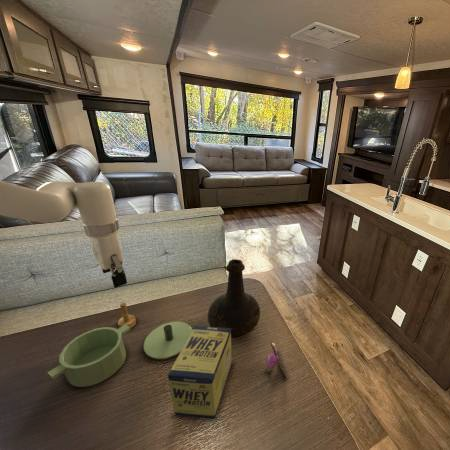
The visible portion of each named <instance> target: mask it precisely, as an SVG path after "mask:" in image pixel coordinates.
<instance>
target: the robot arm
mask: <svg viewBox="0 0 450 450" xmlns="http://www.w3.org/2000/svg"><path fill="white" fill-rule="evenodd" d="M74 209H78V212H79V216H80V219H81V223H82V226H83V229H84V232H85V236H86V237H88V238H89V239H90V243H91V249H92V254H93V258H94V260H95V262H96V263H97V264H98V265H99V266H100V267H101V270H102V273H103V274H107V273H111V276H110V278H111V281H112V286H113V288H116V289H117V288H118V287H122V286H124V285H126V284H128V281H127V276H126V271H125V268H124V266H123V265H124V256H123V252H122V248H121V244H120V239H119V237H118V233H119V232H120V225H119V220H118V215H117V211H116V207H115V202H114V199H113V193H112V190H111V187H110V185H109V184H108V183H106V182H103V181H86V182H74V181H73V182H72V181H63V180H61V181H58V180H57V181H56V180H55V181H54V180H53V181H48V182H45V183H43V184H42V185H41V186H39V187H37V189H33V188H29V187H25V186H21V185H18V184H13V183H10V182H8V181H4V180H1V179H0V216H2V217H7V218H10V219H11V218H12V219H18V220H23V221H28V222H35V223H42V224H43V223H45V224H46V223H48V224H49V223H50V224H51V223H57V222H60V221H62V220H63V219H65V218H67V217H68V216H69V215H70V213H71V211H72V210H74Z"/></svg>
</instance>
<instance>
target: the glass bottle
mask: <svg viewBox="0 0 450 450" xmlns="http://www.w3.org/2000/svg"><path fill="white" fill-rule="evenodd" d="M245 267H246V266H245V264H244V263H243V260H241V259H237V258H233V259H230V260H229V261H228V262H227V265H226V266H225V271H226V272H228V277H227V288H226V292H224V293H223V294H221V295H219V296H218V297H216V298H215V299H214V300H213V301H212V303H211V304H210V306H209V308H208V311H207V323H208V325H209V327H218V328H230V329H231V340H232V339H240V338H242V337H245V336H247V335H248V334H249V333H251V332H252V331H253V330H254V329H255V328H256V327H257V325H258V323H259V321H260V318H261V308H260V304H259V302H258V300H257V299H256V298H255V297H254V296H253V295H251V294H249V293H247V292H245V285H244V276H243V272H244V270H245Z"/></svg>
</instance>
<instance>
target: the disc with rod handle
mask: <svg viewBox="0 0 450 450" xmlns="http://www.w3.org/2000/svg"><path fill="white" fill-rule="evenodd" d="M119 307H120V311H121V315H122V317H120V319H119V320H118V321H117V324H118V329H119V328H120V327H122V326H123V325H127V326H128V327H130V329H132V328H133V327H135V326H136V324H137V320H136V316H135V315H134V314H129V311H128V307H127V303H126V302H121V303H120V304H119Z"/></svg>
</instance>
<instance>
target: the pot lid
mask: <svg viewBox="0 0 450 450" xmlns="http://www.w3.org/2000/svg"><path fill="white" fill-rule="evenodd" d="M192 330H193V328H192V326H191V325H190V324H189V323H186V322H184V321H170V322H167V323H163V324H162V325H159V326H157V327H155V328H154V329H153V330H151V332H150V333H149V334H148V335H147V336H146V338H145V340H144V343H143V351H144V353H145V354H146V356H148V357H149V358H151V359H154V360H166V359H169V358H173V357H175V356H177V355H179V354H180V352H181V350H182V348H183V347H184V345H185V343H186V341H187V339H188V338H189V336H190V334H191V332H192Z"/></svg>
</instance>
